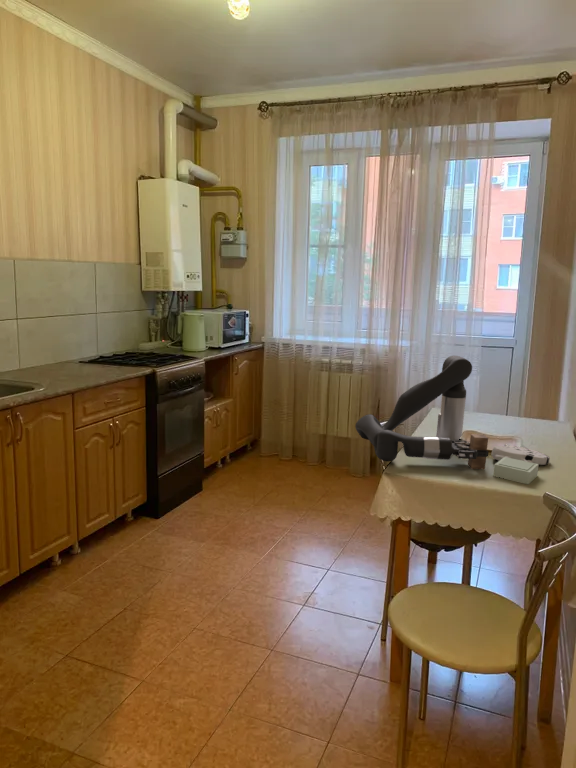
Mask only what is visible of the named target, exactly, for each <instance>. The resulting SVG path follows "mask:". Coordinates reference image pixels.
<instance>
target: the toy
mask: <svg viewBox="0 0 576 768" xmlns="http://www.w3.org/2000/svg"><path fill="white" fill-rule="evenodd" d="M490 454H491V457H492V458H493V459H495V460H496V461H497V462H498V461H500V460H501V459H502V458H504V457H507V458H512V459H517V460H521V461H526V462H531V463H535V464H539V465H541V466H544V465H548V464H549V463H550V459H551V458H550V456H549V455H547V454H545V453H542V452H540V451H537V450H533V449H529V448H527V447H525V446H523V447H521V446H520V447H519V446H515V445H510V444H507V443H505V444H504V446H502V445H495V446H494V447H493V448H492V450H491V453H490Z"/></svg>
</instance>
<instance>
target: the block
mask: <svg viewBox="0 0 576 768" xmlns="http://www.w3.org/2000/svg"><path fill="white" fill-rule="evenodd" d="M469 438H470V439H469V440H470V441H469V443H470V448H471V449H476V450H487V451H488V442H489V437H488V436H486V435H485V434H479V433H471V434H470V437H469ZM470 454H472V455H473V453H470ZM486 462H487V457H476V459H467V465H469V466H470V467H469V466H468V467H469V468H470V469H471V470H484V469H485V470H486Z"/></svg>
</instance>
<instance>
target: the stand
mask: <svg viewBox="0 0 576 768" xmlns="http://www.w3.org/2000/svg"><path fill="white" fill-rule="evenodd" d="M539 465H540V464H535V463H531V462H526V461H521V460H517V459H512V458H507V457H504V458H502V459H501V460H500V461H498V460H497V462H495V463H494V466H493V474H492V475H493V476H492V477H495V476H496V478H499V477H500V478H499V479H503V478H504V480H508V481H512V482H516V483H517V482H518V483H521V484H525V485H529V484H530V483H532V481H534V479H536V478H537V477H538V473H539V472H538V471H539Z"/></svg>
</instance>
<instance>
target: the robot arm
mask: <svg viewBox="0 0 576 768" xmlns="http://www.w3.org/2000/svg"><path fill="white" fill-rule="evenodd" d="M441 367H442V368H441V369H442V370H441V372H439V373H438V374H437V375H435V376H434V377H430V378H429V379H427V380H424V381H421V382H419V383H417V384H415V385H413V386H412V387H410V388H409V389H407V390H406V391H405V392H403V393H401V395H400V396H399V397H398V399H397V402H396V404H395V405H394V406H395V407H394V409H393V411H392V414H391V416H390V418H388V420H387V421H386V422H385V424H383V425H382V424H381V423H380V420H379V419H377V418H376V416H374V415H373V414H366V415H363V416H362V417H361V418H359V419H358V420H357V421H356V423H355V426H354V427H355V430H356V432H357V433H358V435H359V436H360V438H362V439H363V440H366V441H367V440H368V441H369V442H370V444H371V445H372V446H373V448H374V452H375V455H376V457H377V458H378V459H379V460H381V461H383V462H391V461H394V460H395V459H396V458H397V457H398V451H399V450H398V447H399V443H402V445H403V452H404V455H405V456H406V457H408V458H424V459H429V460H430V459H431V460H446V461H448V460H450V459H451V457H452V455H454V456H456V457H458V459H462V460H468V459H476V457H486V458H489V454H490V453H489V450H488V449H487V450H476V449H471V448H470V441H469V442H468V441H467V440H459V439H460V437H461V436H463V430H464V429H463V428H464V420H465V419H464V418H465V409H466V398H467V390H466V387H465V382H464V381H465V380H467V379H468V378H469V377H470V375H471V374H472V371H473V365H472V363H471V361H469V359H467V358H464V357H462V356H459V355H450V356H448V357H447V358H445V360H444V361H443V364H442V366H441ZM440 396H441V402H440V411H439V412H440V413H438V415H437V424H436V425H437V426H436V436H412V435H406V434H402V433H398V432H396V431H393V430H395V429H396V428H397V427H399V425H401V424H403V422H405V421H406V420H408V419H409V418H411V417H412V416H414V415H415V414H416V413H418V412H419V411H421V410H423V409H424V408H426V407H427V406H428V405H429V404H430V403H432V402H433V401H435V400H436V399H437V398H438V397H440ZM470 453H473V455H472V454H470Z"/></svg>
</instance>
